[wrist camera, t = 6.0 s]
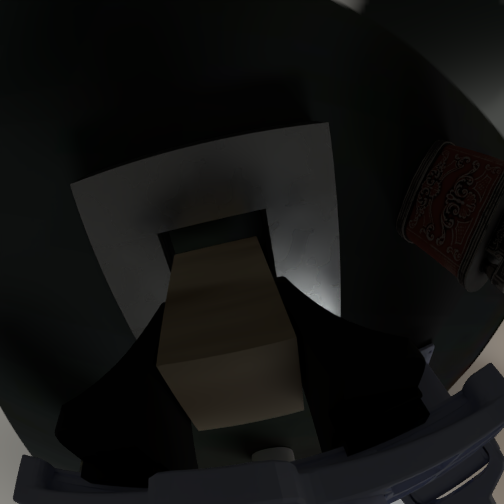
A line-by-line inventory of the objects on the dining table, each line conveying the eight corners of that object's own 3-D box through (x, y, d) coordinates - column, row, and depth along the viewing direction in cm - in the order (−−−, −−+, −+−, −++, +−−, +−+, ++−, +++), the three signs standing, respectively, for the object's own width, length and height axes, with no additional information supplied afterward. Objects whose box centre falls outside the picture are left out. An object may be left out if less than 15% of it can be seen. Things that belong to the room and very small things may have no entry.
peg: (268, 302, 16) (304, 410, 9) (196, 318, 16) (198, 430, 9) (256, 236, 14) (296, 337, 8) (174, 254, 14) (156, 365, 7)
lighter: (415, 244, 20) (505, 321, 11) (387, 228, 19) (486, 312, 10) (458, 154, 17) (564, 197, 8) (434, 130, 16) (553, 165, 7)
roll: (323, 522, 22) (289, 533, 23) (301, 449, 32) (273, 464, 34) (288, 527, 19) (253, 536, 21) (269, 443, 30) (240, 459, 31)
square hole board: (327, 306, 21) (340, 328, 19) (157, 344, 20) (153, 368, 18) (311, 120, 15) (328, 122, 13) (87, 174, 14) (70, 184, 12)
